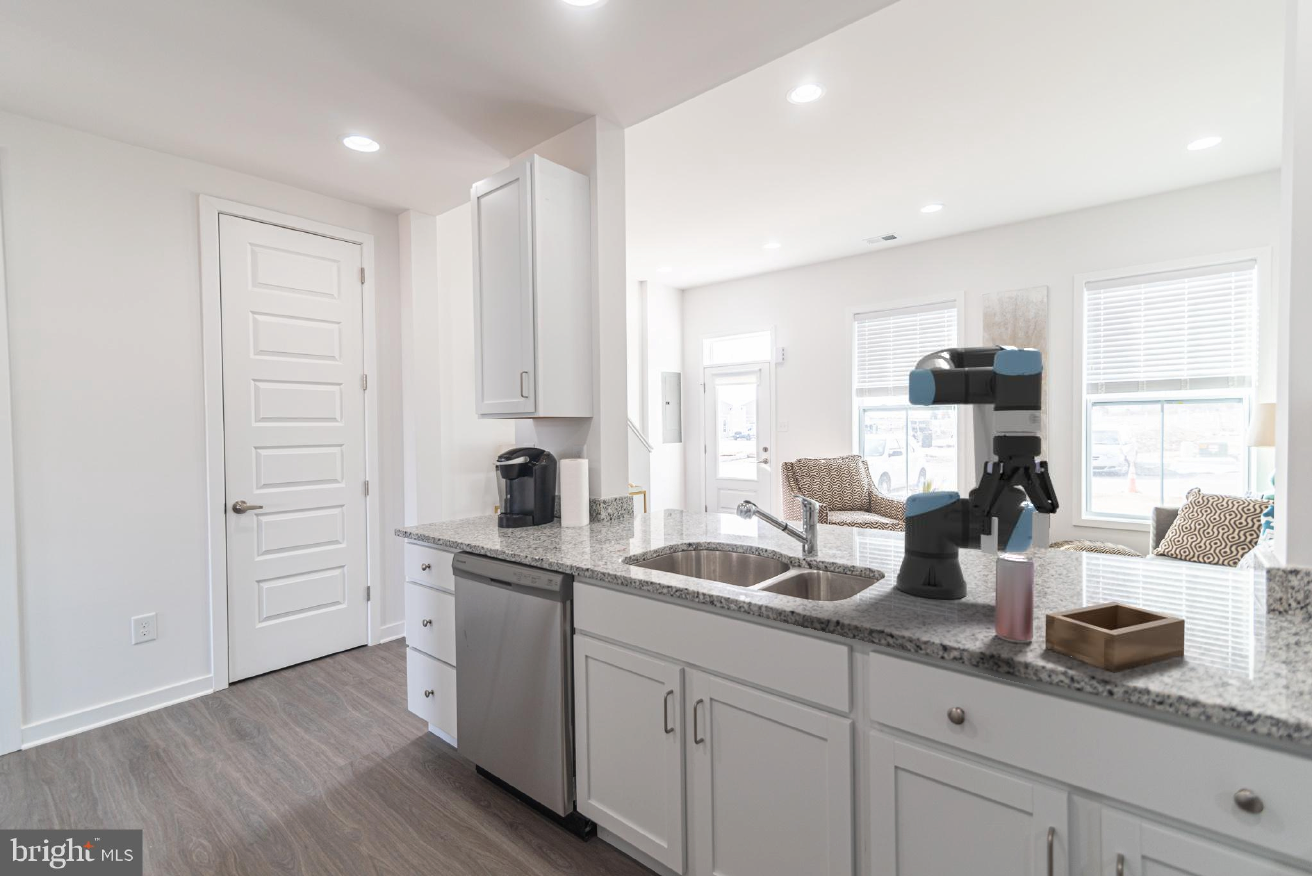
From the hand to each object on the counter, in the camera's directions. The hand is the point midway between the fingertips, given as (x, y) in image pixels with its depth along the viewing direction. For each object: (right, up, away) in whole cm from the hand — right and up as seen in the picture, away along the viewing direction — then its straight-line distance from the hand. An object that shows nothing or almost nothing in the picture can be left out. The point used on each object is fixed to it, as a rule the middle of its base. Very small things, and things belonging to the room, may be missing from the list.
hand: (1015, 550), depth 108 cm
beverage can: (0, -16, +1) cm, 16 cm away
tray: (+14, -16, -6) cm, 22 cm away
